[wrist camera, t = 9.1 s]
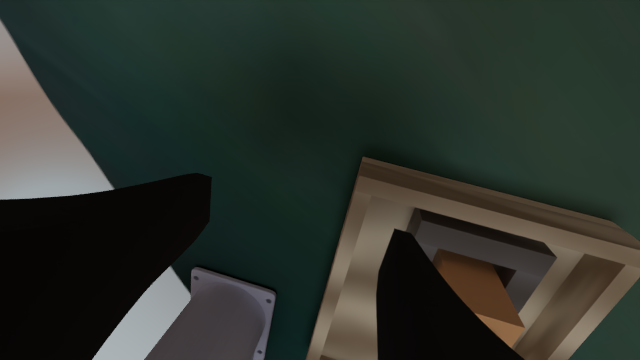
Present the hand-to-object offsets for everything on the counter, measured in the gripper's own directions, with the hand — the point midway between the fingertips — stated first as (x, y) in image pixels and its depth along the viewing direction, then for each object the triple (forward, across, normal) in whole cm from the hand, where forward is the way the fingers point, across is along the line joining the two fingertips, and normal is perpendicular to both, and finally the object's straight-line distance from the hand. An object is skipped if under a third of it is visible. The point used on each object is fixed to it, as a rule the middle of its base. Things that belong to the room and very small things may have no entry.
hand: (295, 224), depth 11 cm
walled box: (+10, -10, +10) cm, 17 cm away
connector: (+9, -10, +6) cm, 15 cm away
